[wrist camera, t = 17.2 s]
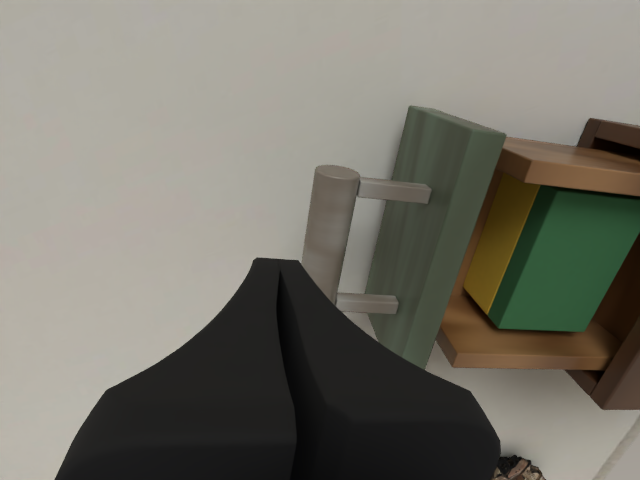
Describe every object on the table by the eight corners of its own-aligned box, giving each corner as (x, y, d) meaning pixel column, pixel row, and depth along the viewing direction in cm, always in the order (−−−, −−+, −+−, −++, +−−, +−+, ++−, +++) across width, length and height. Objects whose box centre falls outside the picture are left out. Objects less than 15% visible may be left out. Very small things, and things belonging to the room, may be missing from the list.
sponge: (461, 286, 20) (498, 329, 17) (505, 165, 17) (558, 190, 14) (537, 291, 21) (585, 332, 18) (589, 176, 18) (657, 201, 15)
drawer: (284, 298, 20) (291, 382, 15) (311, 90, 16) (334, 109, 11) (559, 311, 23) (642, 385, 18) (645, 140, 19) (787, 174, 14)
